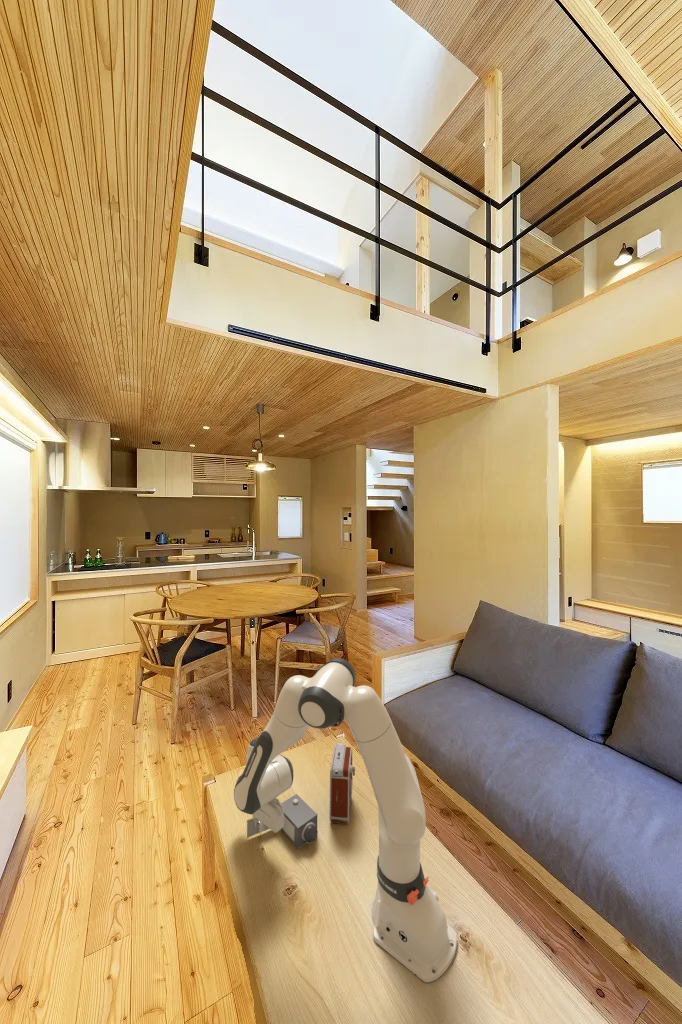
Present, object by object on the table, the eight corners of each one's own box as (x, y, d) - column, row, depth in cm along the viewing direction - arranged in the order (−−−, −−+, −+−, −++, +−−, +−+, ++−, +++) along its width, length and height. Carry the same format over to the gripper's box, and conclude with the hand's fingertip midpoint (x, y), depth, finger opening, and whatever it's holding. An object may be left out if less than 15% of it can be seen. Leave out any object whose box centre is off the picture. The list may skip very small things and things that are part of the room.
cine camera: (355, 785, 148) (356, 736, 148) (352, 827, 129) (353, 770, 128) (332, 784, 149) (333, 734, 149) (326, 825, 130) (326, 768, 129)
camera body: (321, 839, 124) (321, 817, 124) (302, 854, 119) (302, 831, 118) (296, 813, 135) (296, 792, 135) (277, 825, 129) (277, 804, 129)
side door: (247, 839, 123) (247, 821, 123) (246, 836, 124) (246, 819, 124) (278, 826, 128) (278, 809, 128) (277, 824, 129) (277, 807, 129)
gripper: (289, 796, 119) (288, 839, 119) (248, 768, 132) (248, 807, 132) (274, 809, 114) (273, 853, 114) (233, 779, 127) (233, 819, 127)
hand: (259, 828), depth 123 cm, fingers closed
